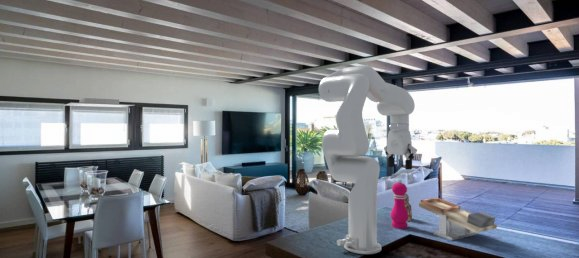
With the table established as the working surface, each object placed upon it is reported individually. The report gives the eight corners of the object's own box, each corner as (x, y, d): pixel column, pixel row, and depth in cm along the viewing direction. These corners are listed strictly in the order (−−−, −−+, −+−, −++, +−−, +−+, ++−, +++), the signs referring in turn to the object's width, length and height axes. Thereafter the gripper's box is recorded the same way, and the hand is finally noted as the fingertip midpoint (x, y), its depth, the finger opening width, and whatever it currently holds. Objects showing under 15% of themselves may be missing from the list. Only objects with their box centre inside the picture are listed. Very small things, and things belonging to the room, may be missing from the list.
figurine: (396, 220, 149) (396, 193, 150) (395, 216, 156) (395, 191, 156) (413, 221, 148) (413, 194, 148) (410, 217, 155) (410, 191, 155)
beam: (476, 232, 115) (478, 220, 115) (418, 206, 137) (420, 195, 137) (496, 228, 121) (498, 216, 120) (438, 203, 143) (439, 193, 142)
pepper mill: (406, 224, 143) (406, 178, 143) (410, 229, 136) (410, 180, 136) (389, 223, 144) (389, 177, 144) (392, 228, 137) (392, 180, 137)
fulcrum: (451, 240, 122) (451, 217, 122) (433, 234, 129) (433, 212, 129) (477, 234, 129) (477, 212, 129) (458, 229, 136) (458, 208, 136)
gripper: (378, 127, 146) (378, 166, 146) (409, 127, 131) (409, 171, 131) (391, 127, 150) (391, 165, 150) (422, 127, 134) (422, 169, 134)
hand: (399, 168), depth 140 cm, fingers open, 9 cm apart
